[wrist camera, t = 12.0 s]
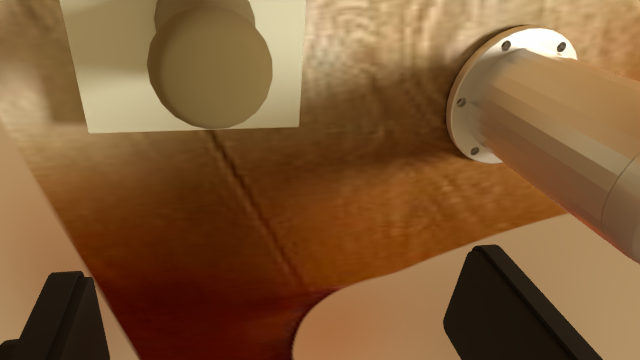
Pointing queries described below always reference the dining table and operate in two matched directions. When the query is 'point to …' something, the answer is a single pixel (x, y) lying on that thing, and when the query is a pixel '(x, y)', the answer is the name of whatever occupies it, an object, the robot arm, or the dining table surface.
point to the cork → (209, 61)
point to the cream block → (132, 73)
